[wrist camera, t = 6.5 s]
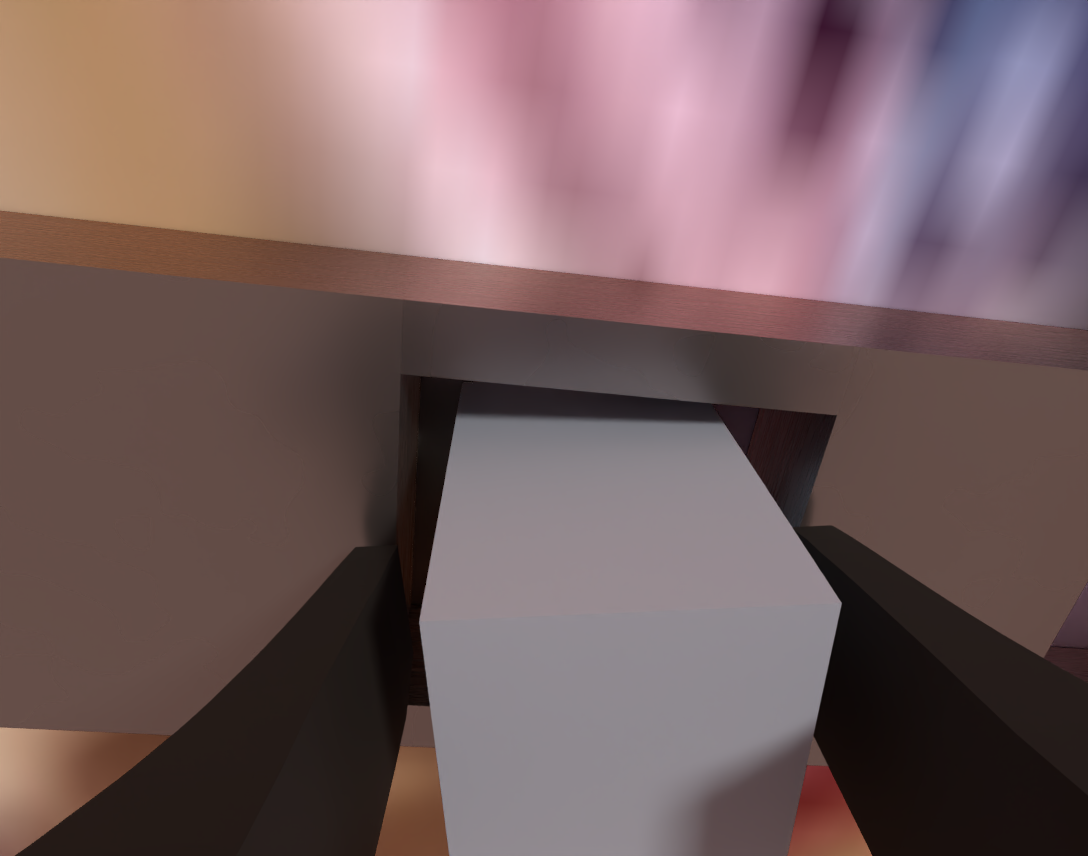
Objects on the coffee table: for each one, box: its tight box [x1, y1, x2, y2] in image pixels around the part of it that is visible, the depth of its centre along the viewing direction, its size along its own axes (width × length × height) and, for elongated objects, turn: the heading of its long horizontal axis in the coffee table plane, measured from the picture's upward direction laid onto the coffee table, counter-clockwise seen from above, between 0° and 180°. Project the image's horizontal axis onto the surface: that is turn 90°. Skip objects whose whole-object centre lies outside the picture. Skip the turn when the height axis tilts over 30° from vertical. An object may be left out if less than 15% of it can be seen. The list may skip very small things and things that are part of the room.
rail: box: [0, 211, 1088, 766], centre depth 12 cm, size 28×8×2 cm, turn 83°
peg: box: [419, 382, 842, 856], centre depth 10 cm, size 4×4×6 cm
